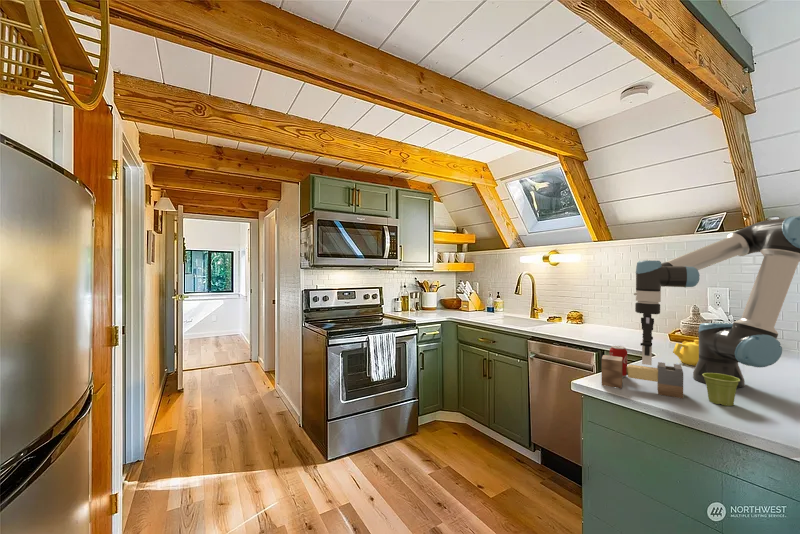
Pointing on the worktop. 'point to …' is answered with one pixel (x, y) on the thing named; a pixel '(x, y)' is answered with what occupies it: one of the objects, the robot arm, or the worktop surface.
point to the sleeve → (670, 380)
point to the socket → (612, 371)
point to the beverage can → (620, 352)
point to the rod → (642, 372)
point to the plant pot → (721, 388)
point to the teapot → (688, 352)
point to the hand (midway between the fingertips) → (646, 360)
